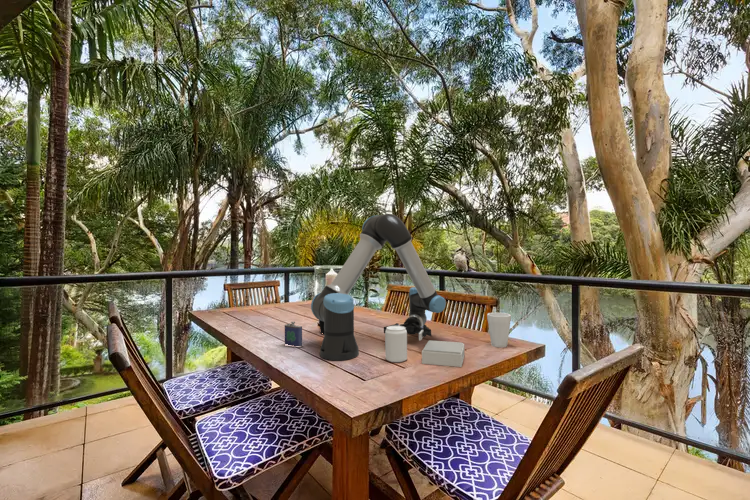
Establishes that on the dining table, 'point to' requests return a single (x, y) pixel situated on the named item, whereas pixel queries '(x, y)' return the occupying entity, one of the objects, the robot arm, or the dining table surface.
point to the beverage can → (396, 343)
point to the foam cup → (499, 328)
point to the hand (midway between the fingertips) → (402, 335)
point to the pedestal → (443, 353)
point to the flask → (293, 334)
